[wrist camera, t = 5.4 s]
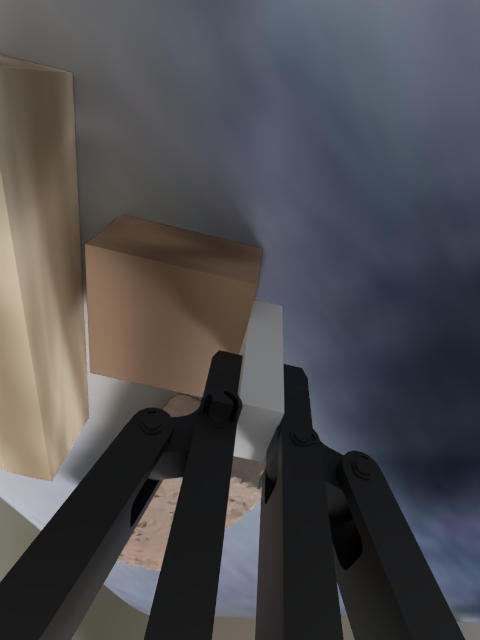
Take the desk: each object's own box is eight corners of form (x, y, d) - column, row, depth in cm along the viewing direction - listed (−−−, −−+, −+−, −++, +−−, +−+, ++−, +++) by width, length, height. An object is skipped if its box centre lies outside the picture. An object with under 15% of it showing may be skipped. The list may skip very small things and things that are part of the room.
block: (262, 247, 17) (258, 284, 14) (234, 353, 21) (225, 402, 18) (122, 213, 17) (84, 244, 14) (120, 327, 21) (90, 372, 18)
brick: (173, 385, 23) (152, 445, 19) (278, 435, 25) (277, 499, 21) (100, 492, 32) (75, 548, 28) (181, 524, 34) (168, 581, 30)
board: (72, 72, 14) (-17, 65, 10) (88, 417, 25) (51, 481, 21) (-4, 53, 14) (-127, 37, 10) (47, 408, 25) (2, 471, 21)
